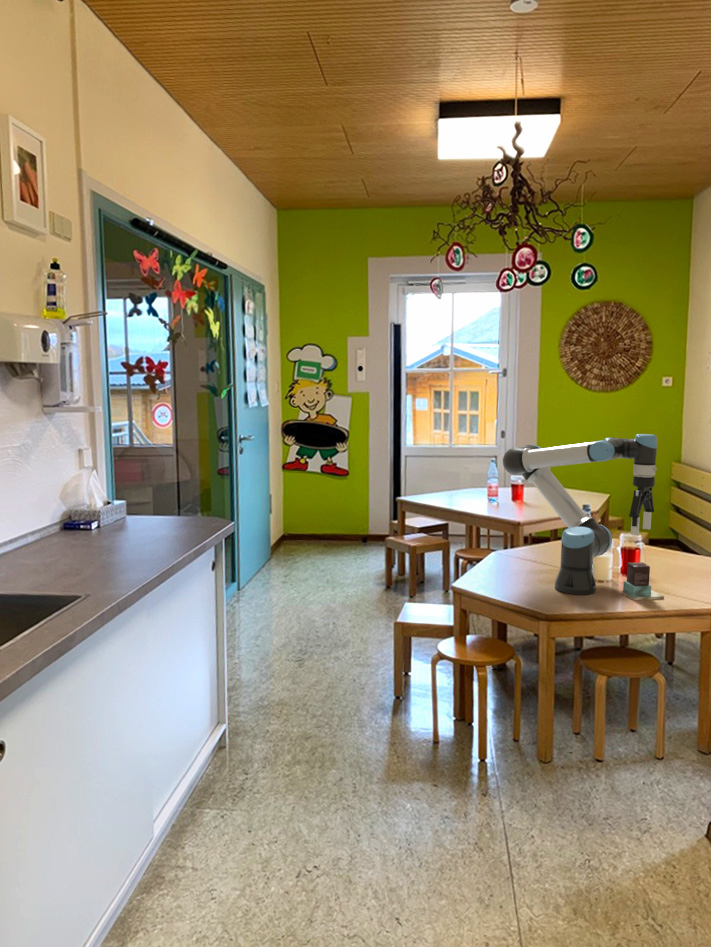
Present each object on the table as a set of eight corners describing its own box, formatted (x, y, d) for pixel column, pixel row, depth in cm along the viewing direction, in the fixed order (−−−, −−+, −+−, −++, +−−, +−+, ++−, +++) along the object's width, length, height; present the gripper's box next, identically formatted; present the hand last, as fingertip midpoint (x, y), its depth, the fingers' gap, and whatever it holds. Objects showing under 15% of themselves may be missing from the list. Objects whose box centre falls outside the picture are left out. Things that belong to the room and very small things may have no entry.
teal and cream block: (633, 600, 260) (634, 587, 260) (622, 593, 268) (622, 580, 267) (663, 598, 262) (664, 585, 262) (651, 592, 270) (652, 579, 269)
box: (642, 581, 267) (643, 562, 266) (649, 586, 261) (650, 566, 260) (626, 581, 267) (627, 562, 266) (632, 585, 261) (634, 566, 260)
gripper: (643, 480, 253) (640, 538, 256) (664, 473, 272) (661, 527, 275) (622, 478, 257) (619, 535, 260) (644, 471, 277) (641, 525, 279)
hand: (640, 531), depth 267 cm, fingers open, 13 cm apart
